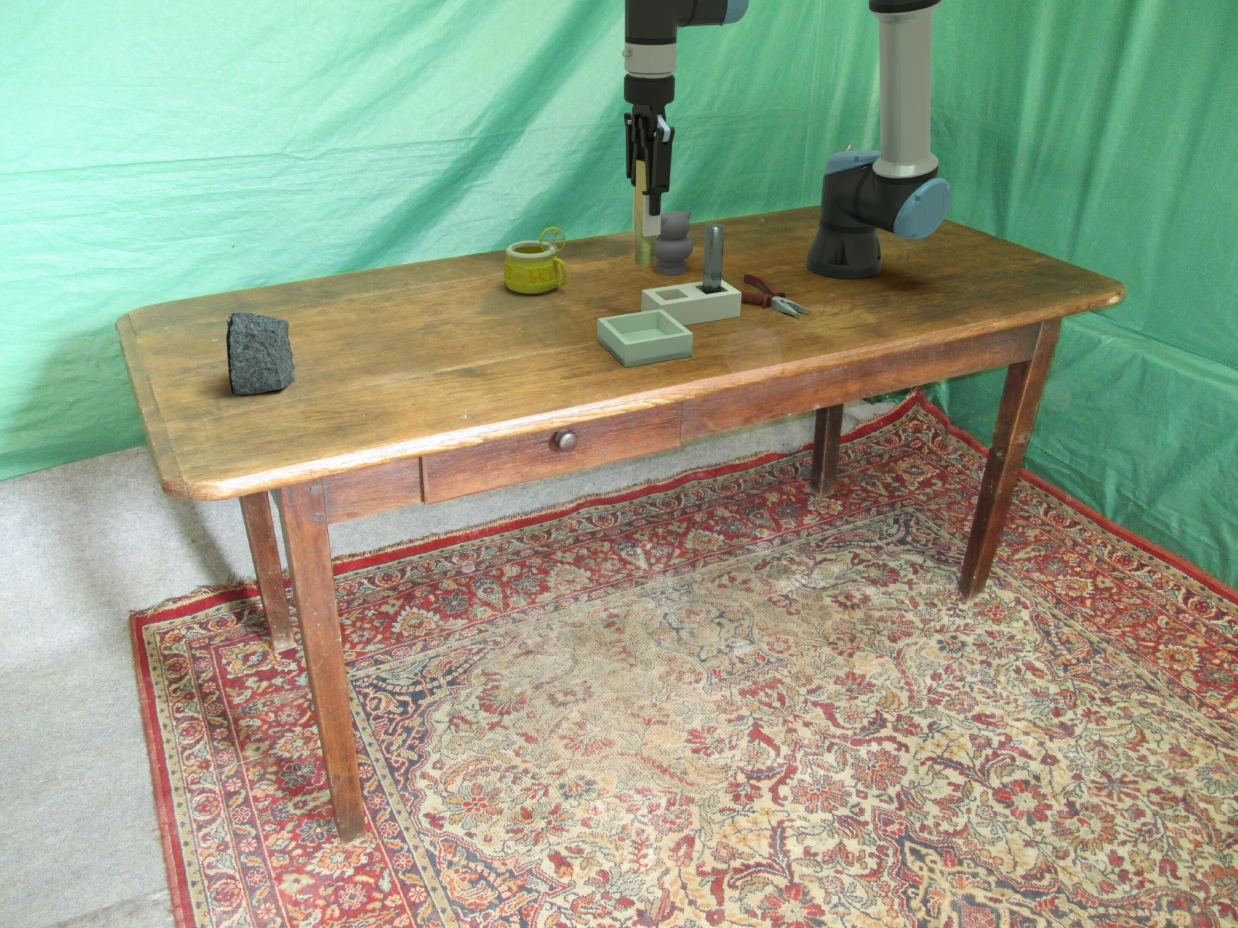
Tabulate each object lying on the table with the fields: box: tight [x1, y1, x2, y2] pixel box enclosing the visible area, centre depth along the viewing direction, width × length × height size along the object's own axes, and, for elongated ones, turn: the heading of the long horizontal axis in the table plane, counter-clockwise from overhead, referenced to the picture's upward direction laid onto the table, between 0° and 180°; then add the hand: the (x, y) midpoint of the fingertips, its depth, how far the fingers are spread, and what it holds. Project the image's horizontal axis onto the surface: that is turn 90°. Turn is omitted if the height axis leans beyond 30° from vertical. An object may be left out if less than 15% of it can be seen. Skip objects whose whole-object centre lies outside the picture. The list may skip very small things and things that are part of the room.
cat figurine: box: [655, 210, 694, 276], centre depth 197 cm, size 8×8×12 cm
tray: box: [597, 309, 694, 369], centre depth 165 cm, size 12×12×4 cm
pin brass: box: [634, 158, 658, 266], centre depth 154 cm, size 3×3×16 cm
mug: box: [503, 226, 568, 295], centre depth 188 cm, size 13×11×12 cm
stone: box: [225, 312, 296, 396], centre depth 150 cm, size 12×10×10 cm
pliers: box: [737, 273, 811, 318], centre depth 185 cm, size 11×20×3 cm, turn 38°
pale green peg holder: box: [640, 278, 742, 327], centre depth 178 cm, size 16×8×4 cm, turn 113°
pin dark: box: [701, 222, 726, 294], centre depth 176 cm, size 3×3×16 cm
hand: (646, 231), depth 156 cm, fingers closed on pin brass, 3 cm apart
